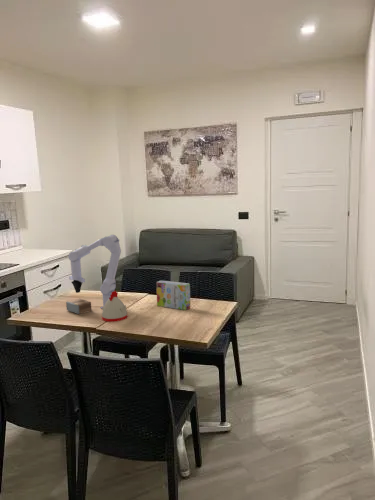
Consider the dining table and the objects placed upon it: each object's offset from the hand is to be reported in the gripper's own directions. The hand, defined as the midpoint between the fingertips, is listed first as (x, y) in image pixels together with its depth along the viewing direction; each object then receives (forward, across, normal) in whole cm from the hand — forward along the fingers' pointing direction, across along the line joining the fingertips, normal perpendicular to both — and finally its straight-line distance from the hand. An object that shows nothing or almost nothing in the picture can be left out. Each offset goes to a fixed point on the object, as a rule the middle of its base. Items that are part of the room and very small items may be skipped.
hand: (78, 292), depth 248 cm
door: (+9, +7, -8) cm, 14 cm away
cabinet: (+9, +7, -4) cm, 12 cm away
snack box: (+10, +48, +35) cm, 60 cm away
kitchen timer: (+10, +35, +1) cm, 36 cm away
